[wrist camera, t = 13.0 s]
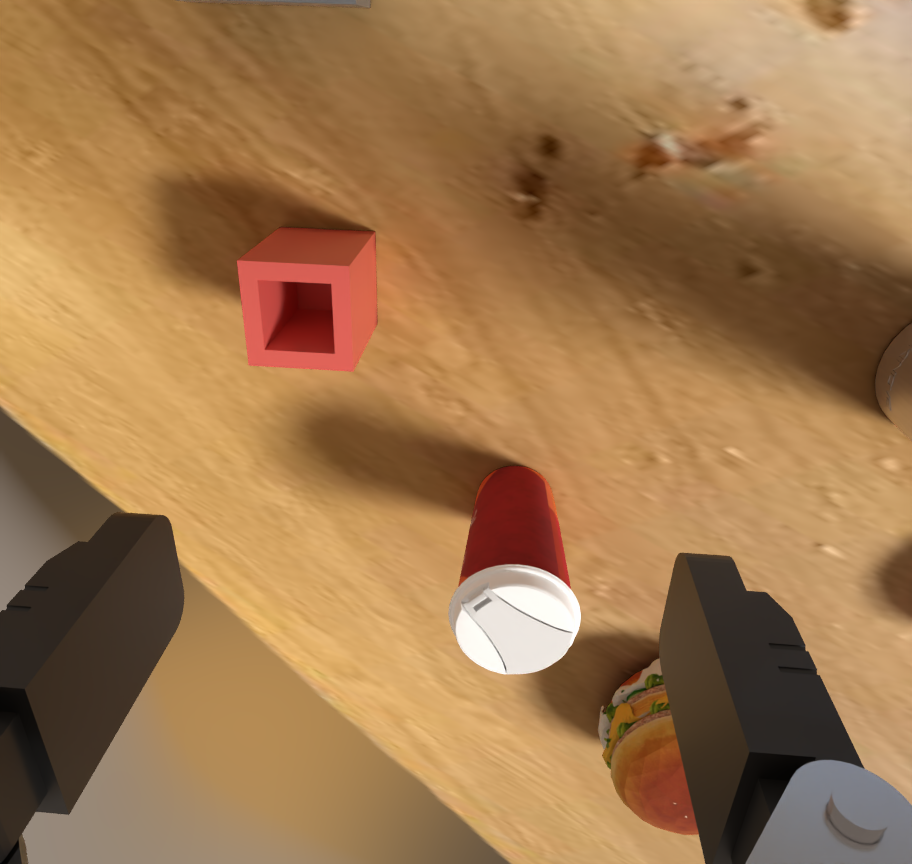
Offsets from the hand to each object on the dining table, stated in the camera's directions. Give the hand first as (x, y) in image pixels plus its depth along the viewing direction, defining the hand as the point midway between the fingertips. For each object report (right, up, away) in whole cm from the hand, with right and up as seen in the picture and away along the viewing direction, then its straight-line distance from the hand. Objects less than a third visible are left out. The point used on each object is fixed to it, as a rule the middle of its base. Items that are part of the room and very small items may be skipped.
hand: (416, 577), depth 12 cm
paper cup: (+5, -2, +42) cm, 43 cm away
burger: (+19, -21, +51) cm, 58 cm away
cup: (-7, +12, +35) cm, 38 cm away
